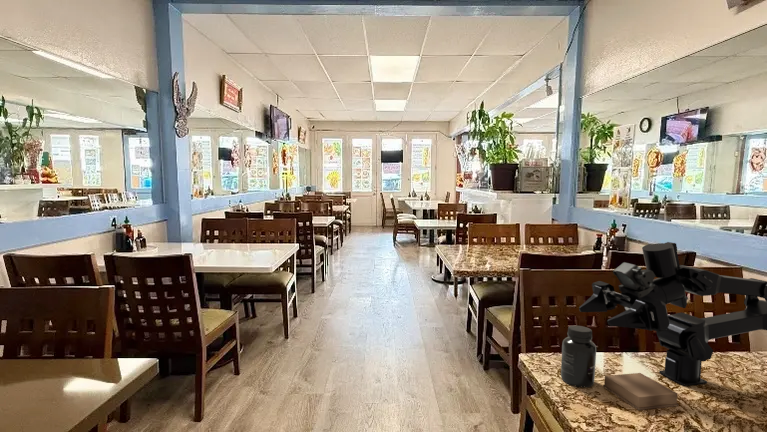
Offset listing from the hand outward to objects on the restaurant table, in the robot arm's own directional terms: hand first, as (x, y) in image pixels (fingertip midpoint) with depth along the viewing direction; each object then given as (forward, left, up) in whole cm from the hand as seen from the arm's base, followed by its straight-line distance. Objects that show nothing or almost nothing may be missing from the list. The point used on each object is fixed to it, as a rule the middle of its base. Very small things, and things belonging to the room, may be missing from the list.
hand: (593, 316), depth 87 cm
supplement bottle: (+1, -2, -16) cm, 16 cm away
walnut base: (-7, +6, -15) cm, 18 cm away
